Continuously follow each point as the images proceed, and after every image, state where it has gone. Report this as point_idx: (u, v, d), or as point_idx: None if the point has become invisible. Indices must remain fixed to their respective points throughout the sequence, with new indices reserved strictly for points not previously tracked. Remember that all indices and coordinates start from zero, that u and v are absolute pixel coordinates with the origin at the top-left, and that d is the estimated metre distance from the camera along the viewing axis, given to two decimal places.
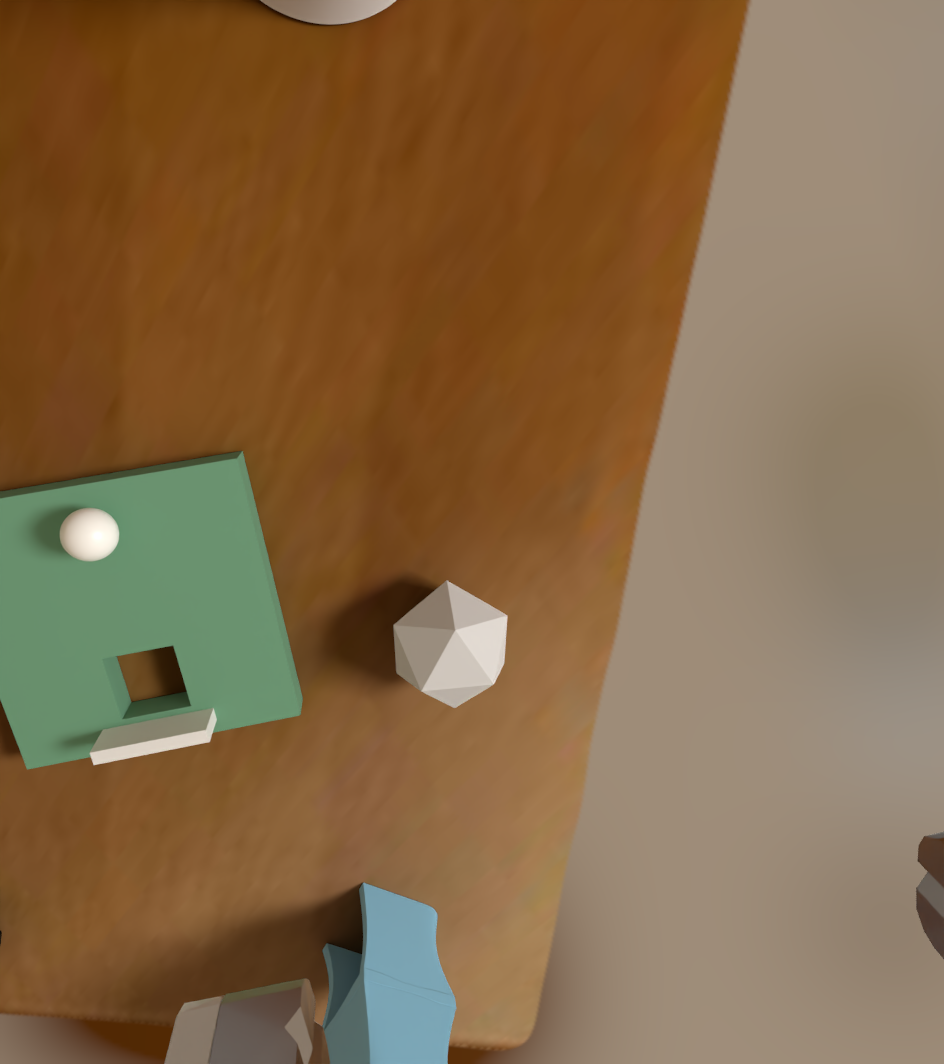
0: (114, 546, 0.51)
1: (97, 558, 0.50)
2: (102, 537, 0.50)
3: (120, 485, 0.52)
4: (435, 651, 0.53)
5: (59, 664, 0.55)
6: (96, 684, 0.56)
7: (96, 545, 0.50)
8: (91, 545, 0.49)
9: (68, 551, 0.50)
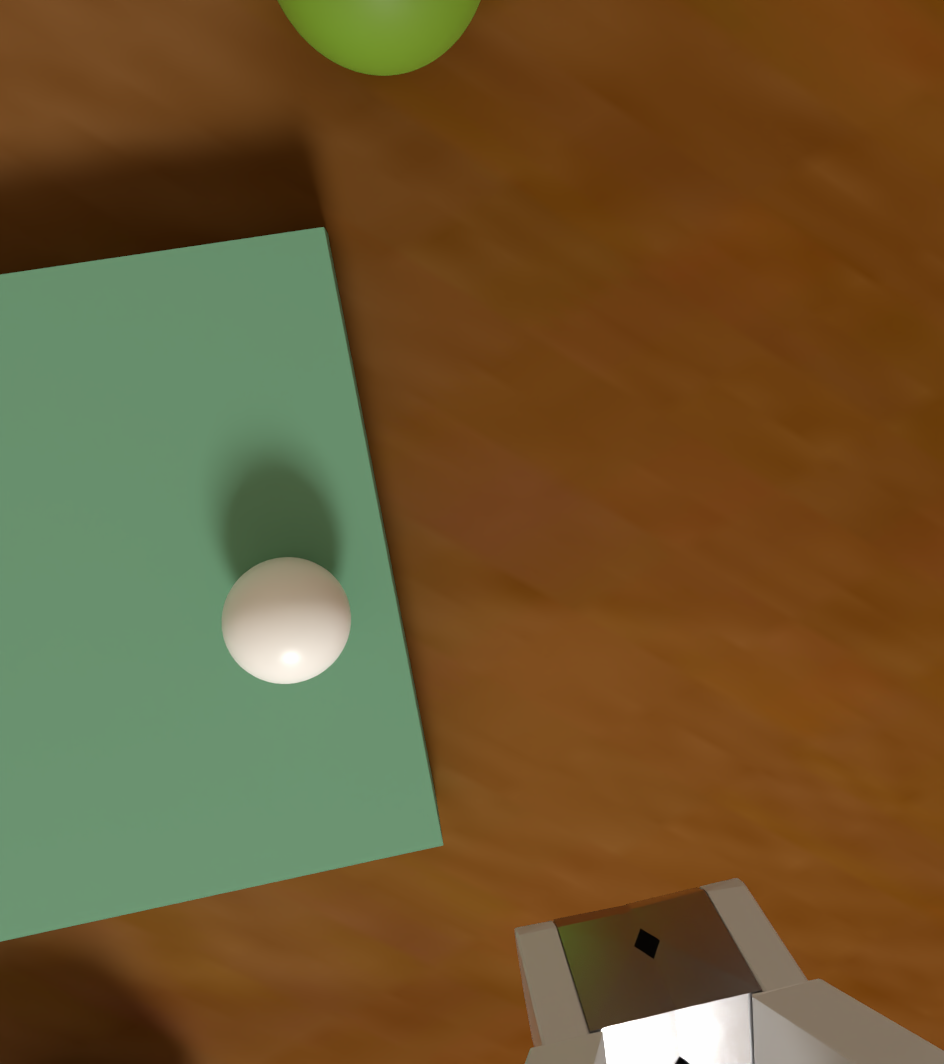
0: None
1: (234, 656, 0.21)
2: (292, 679, 0.21)
3: (388, 645, 0.24)
4: None
5: None
6: None
7: (273, 672, 0.20)
8: (275, 665, 0.20)
9: (252, 604, 0.20)
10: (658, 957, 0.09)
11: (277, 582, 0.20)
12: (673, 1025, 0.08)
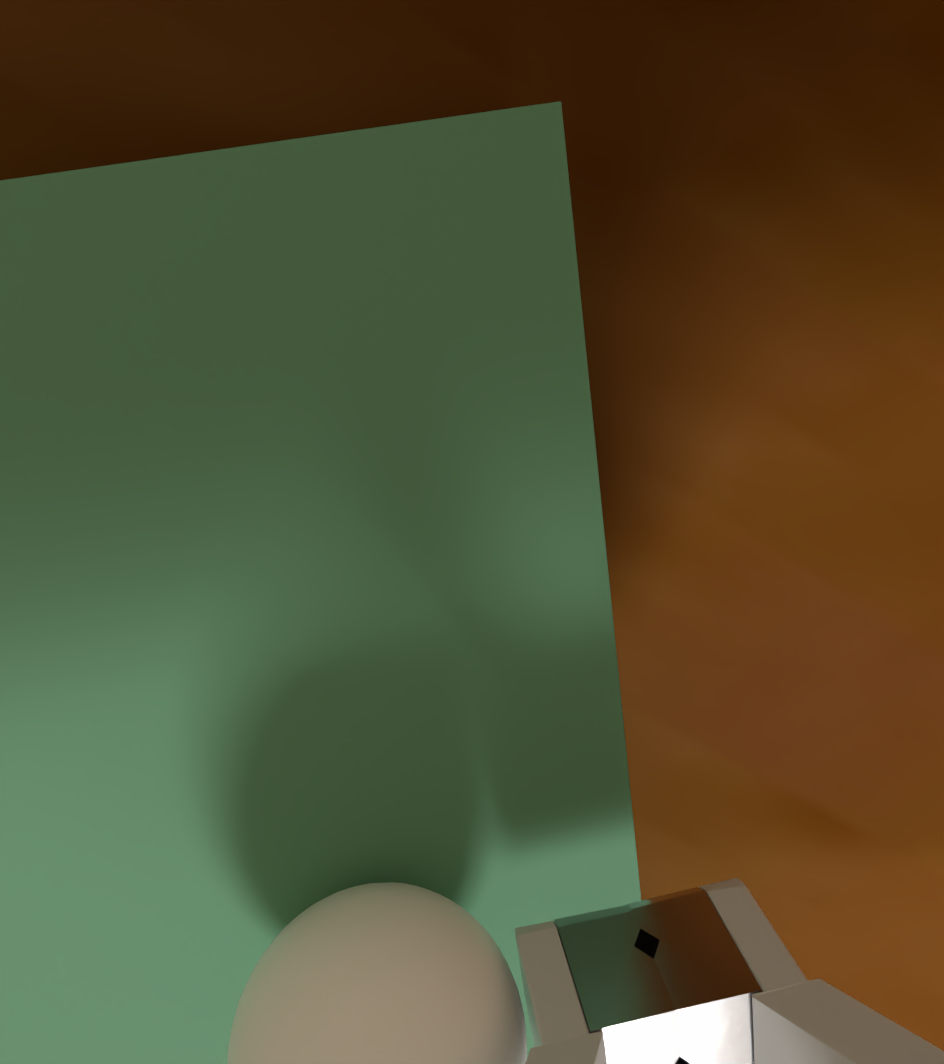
0: None
1: None
2: None
3: None
4: None
5: None
6: None
7: None
8: None
9: (263, 1061, 0.08)
10: (658, 957, 0.09)
11: (328, 1022, 0.08)
12: (674, 1024, 0.08)
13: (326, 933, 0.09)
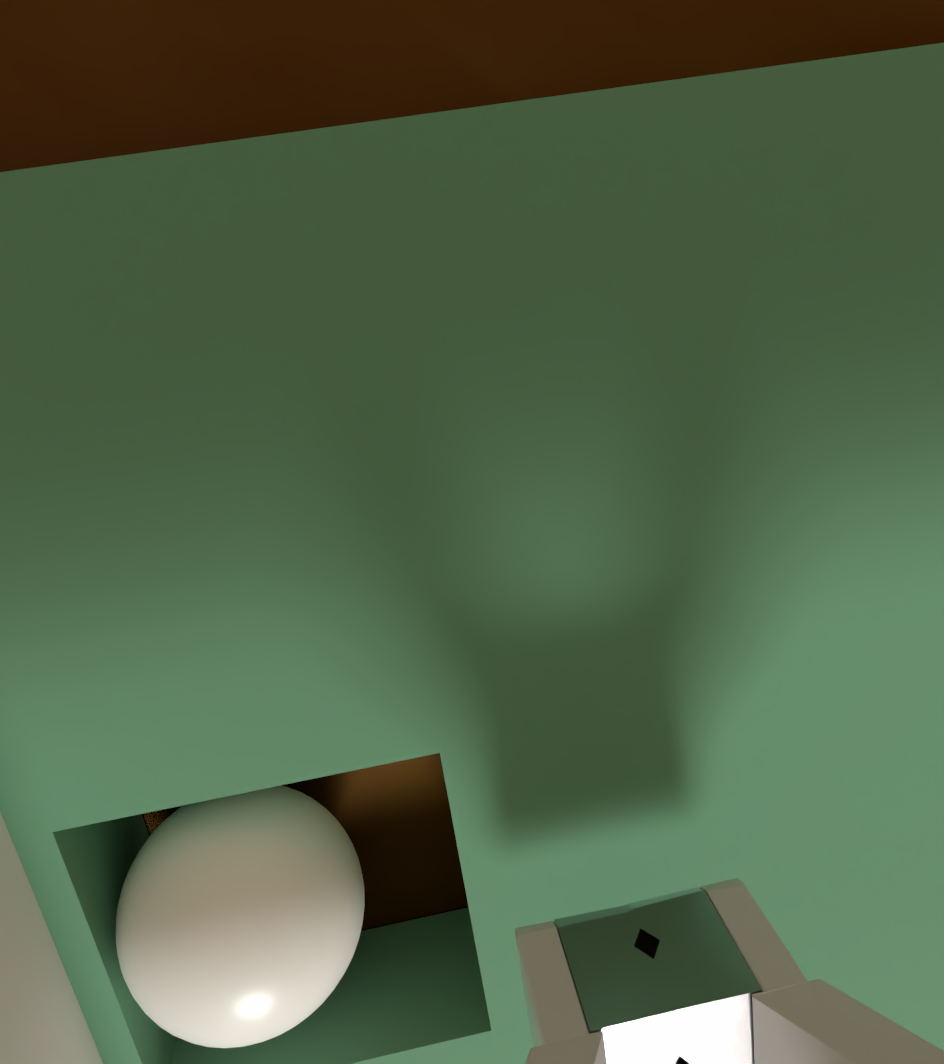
0: None
1: None
2: None
3: None
4: None
5: (416, 548, 0.09)
6: (282, 723, 0.10)
7: None
8: None
9: None
10: (658, 957, 0.09)
11: (152, 849, 0.11)
12: (674, 1025, 0.08)
13: (212, 800, 0.11)
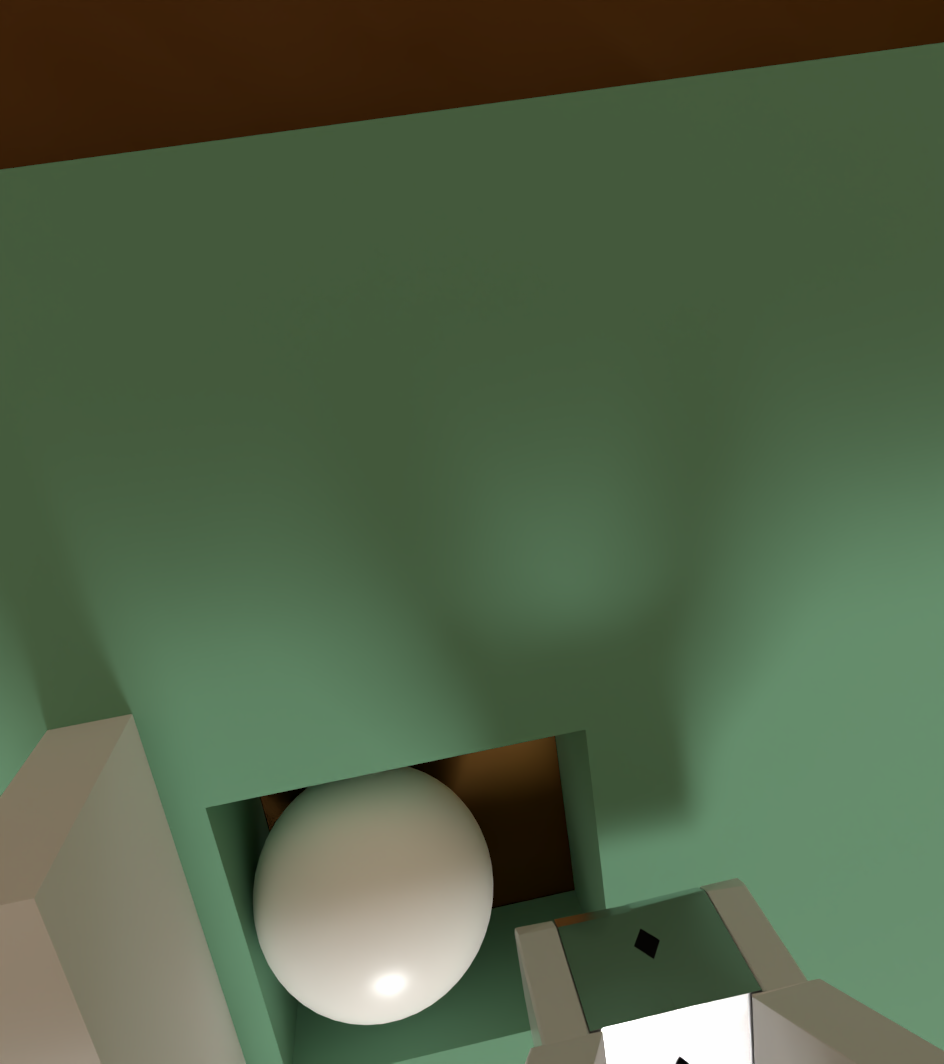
0: None
1: None
2: None
3: None
4: None
5: (576, 523, 0.09)
6: (435, 698, 0.10)
7: None
8: None
9: (276, 822, 0.12)
10: (658, 957, 0.09)
11: (292, 826, 0.11)
12: (673, 1024, 0.08)
13: (346, 779, 0.11)
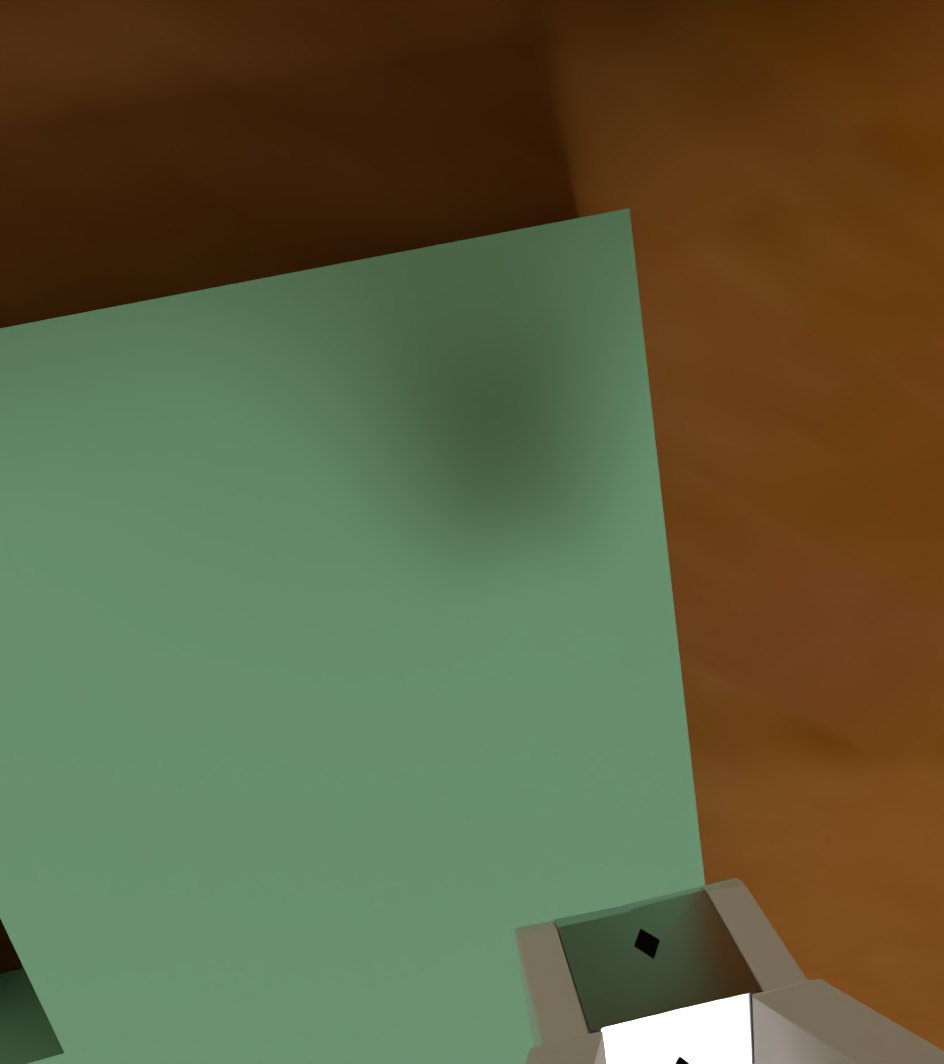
0: None
1: None
2: None
3: (679, 867, 0.15)
4: None
5: None
6: None
7: None
8: None
9: None
10: (658, 957, 0.09)
11: None
12: (673, 1024, 0.08)
13: None
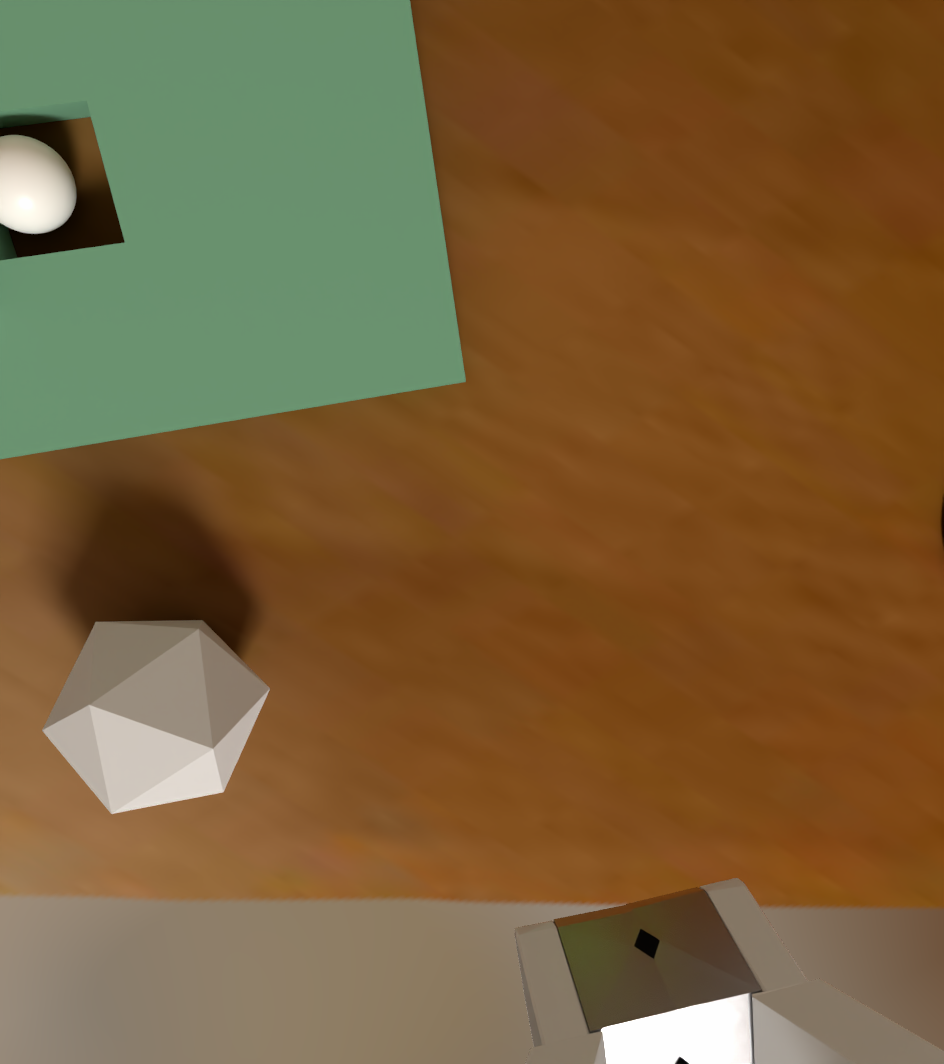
0: None
1: None
2: (0, 222, 0.30)
3: (425, 190, 0.32)
4: (169, 718, 0.32)
5: (67, 11, 0.28)
6: (26, 79, 0.29)
7: None
8: None
9: None
10: (658, 957, 0.09)
11: None
12: (673, 1024, 0.08)
13: None
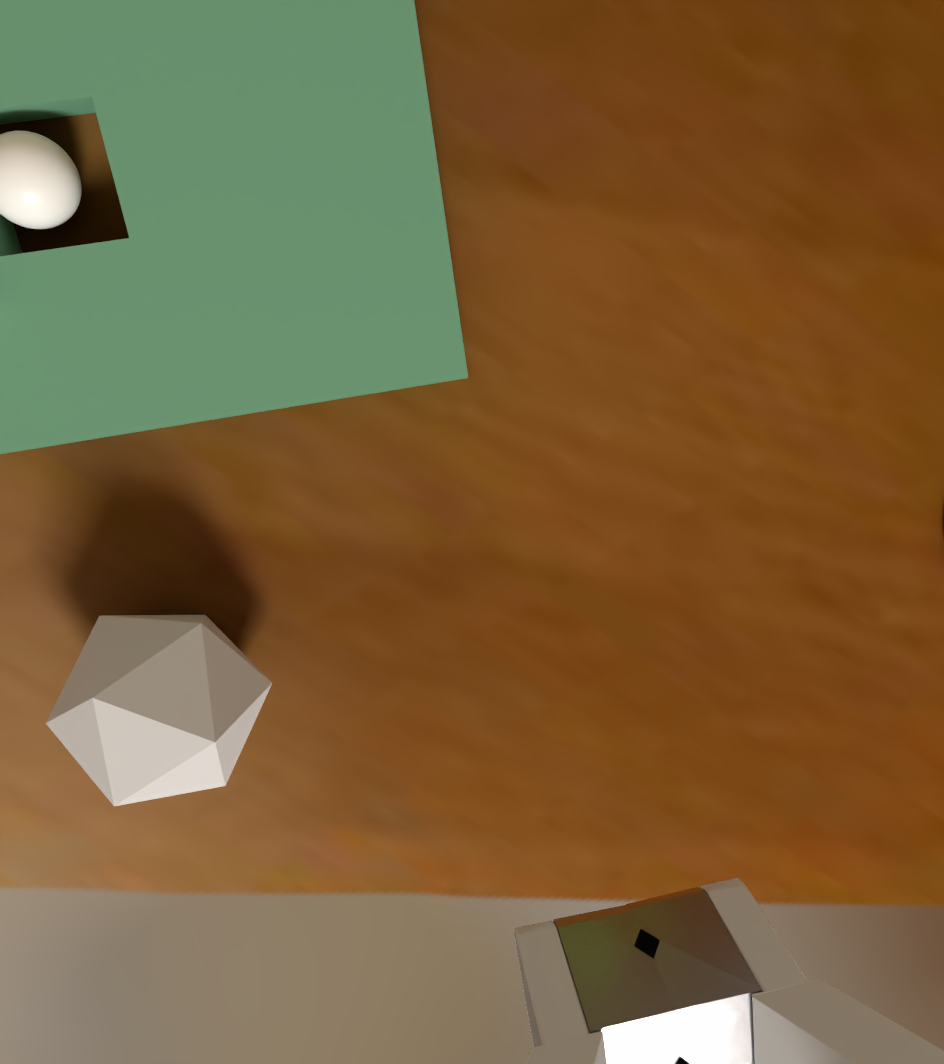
0: None
1: None
2: (6, 217, 0.30)
3: (428, 187, 0.32)
4: (172, 711, 0.32)
5: (73, 7, 0.28)
6: (32, 75, 0.29)
7: None
8: None
9: None
10: (658, 957, 0.09)
11: None
12: (673, 1024, 0.08)
13: None
